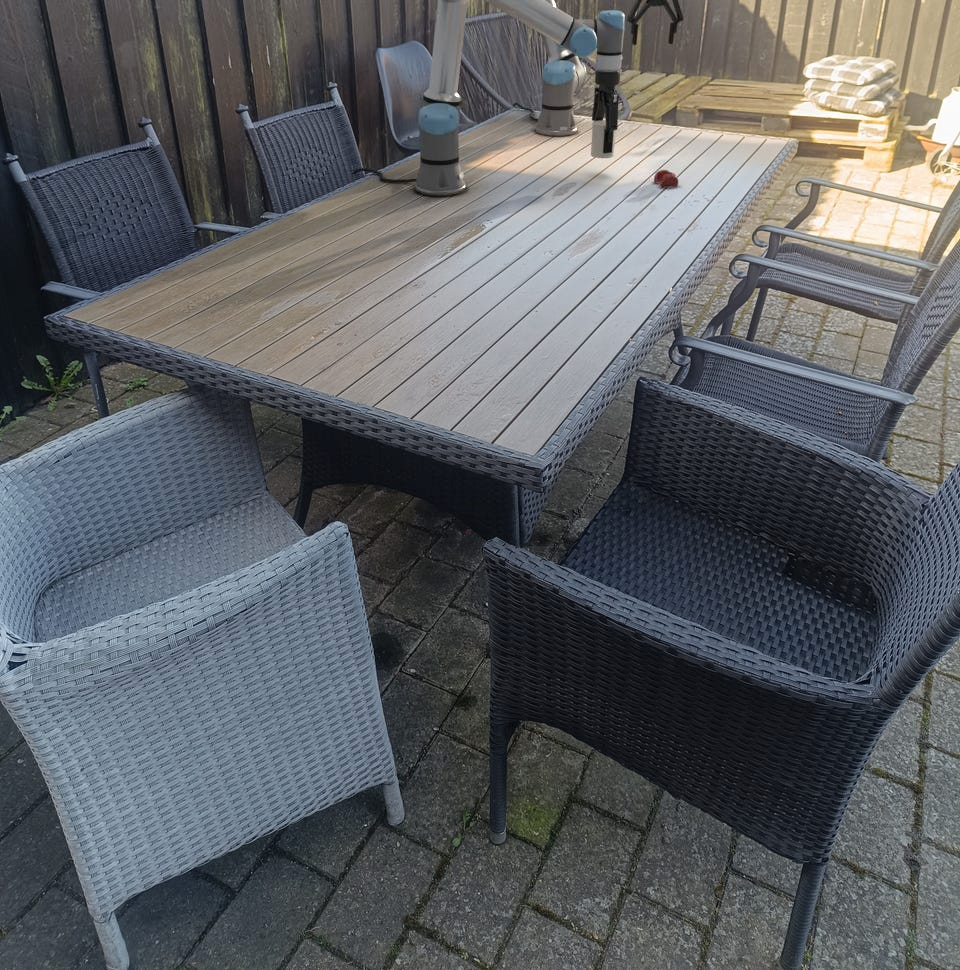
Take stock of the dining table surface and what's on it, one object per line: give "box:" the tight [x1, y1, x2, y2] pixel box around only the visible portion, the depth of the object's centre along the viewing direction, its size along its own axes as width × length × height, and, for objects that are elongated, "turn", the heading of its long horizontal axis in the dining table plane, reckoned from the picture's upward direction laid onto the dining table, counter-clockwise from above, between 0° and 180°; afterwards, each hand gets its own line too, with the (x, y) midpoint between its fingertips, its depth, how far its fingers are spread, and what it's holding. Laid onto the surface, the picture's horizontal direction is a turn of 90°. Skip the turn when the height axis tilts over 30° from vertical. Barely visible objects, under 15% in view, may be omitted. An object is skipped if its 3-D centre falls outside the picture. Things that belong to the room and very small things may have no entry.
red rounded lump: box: [653, 169, 679, 188], centre depth 261 cm, size 6×4×8 cm
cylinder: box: [590, 119, 617, 159], centre depth 264 cm, size 7×7×10 cm
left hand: (602, 149), depth 266 cm, fingers closed on cylinder, 7 cm apart
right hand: (652, 44), depth 303 cm, fingers open, 13 cm apart
